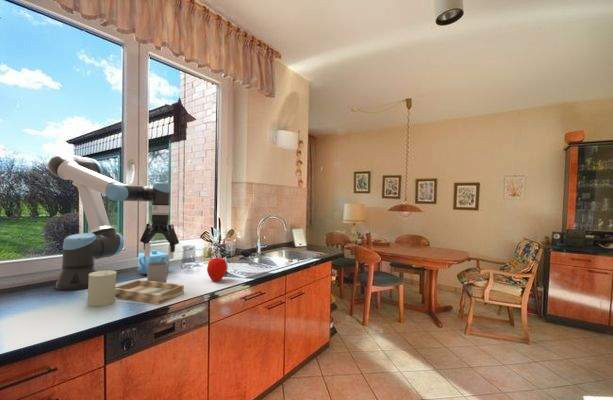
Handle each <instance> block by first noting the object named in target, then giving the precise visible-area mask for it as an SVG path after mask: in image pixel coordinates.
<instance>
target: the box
mask: <svg viewBox="0 0 613 400" xmlns="http://www.w3.org/2000/svg"><path fill="white" fill-rule="evenodd" d="M184 289H185V285H184V284H179V283H170V282H169V283H168V282H166V283H163V282H155V281H148V280H147V279H141V278H140V279H136V280H134V281H130V282H126V283H124V284H123V283H122V284H120V285H116V291H115V299H116V298H117V299H122V300H130V301H135V302H144V303H147V304H156V305H160V304H162V303H165V302H167V301H170V300H171V299H173V298H176V297H179V296H180V295H182V294H184V293H185V292H184V291H185V290H184Z"/></svg>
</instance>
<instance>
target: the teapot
mask: <svg viewBox="0 0 613 400" xmlns="http://www.w3.org/2000/svg"><path fill="white" fill-rule="evenodd" d="M137 259H138V261H137V271H138V272H141V275H143V274H144V275H147V272H148V264H149V263H153V262H166V263H167V272H169V267H170V266H169V265H170V259H168V253H165V252H162V251H158V249H155V250H154V249H152V250H150V256H149V257H144V252H141V253H138V258H137Z"/></svg>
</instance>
